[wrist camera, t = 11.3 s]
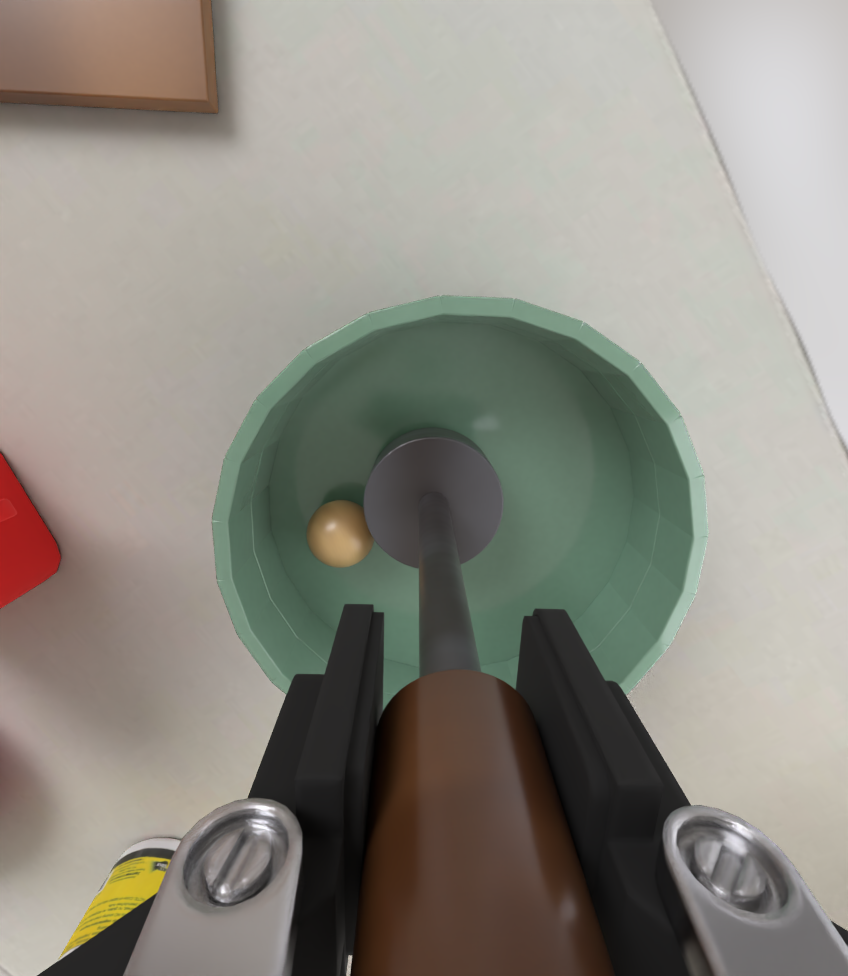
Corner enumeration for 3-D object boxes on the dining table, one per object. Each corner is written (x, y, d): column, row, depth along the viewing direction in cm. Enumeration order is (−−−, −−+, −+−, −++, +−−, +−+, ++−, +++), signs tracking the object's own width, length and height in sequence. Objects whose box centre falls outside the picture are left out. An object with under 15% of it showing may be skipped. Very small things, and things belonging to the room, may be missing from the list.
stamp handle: (499, 429, 21) (918, 848, 3) (490, 549, 23) (747, 1269, 5) (369, 424, 21) (110, 838, 3) (368, 546, 23) (189, 1271, 5)
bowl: (666, 318, 22) (757, 308, 16) (608, 672, 27) (661, 762, 21) (252, 301, 21) (190, 284, 16) (271, 664, 26) (230, 753, 21)
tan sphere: (380, 508, 20) (316, 541, 19) (392, 559, 22) (333, 592, 21) (347, 478, 23) (287, 506, 21) (361, 527, 24) (306, 556, 23)
